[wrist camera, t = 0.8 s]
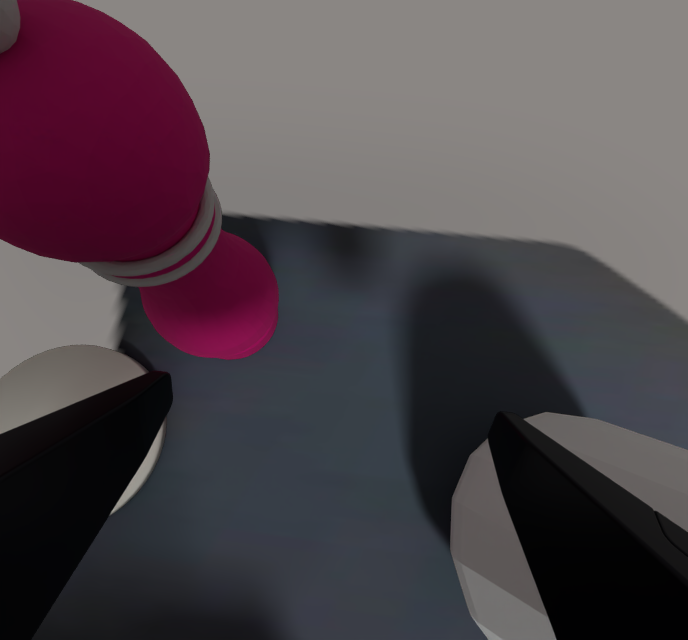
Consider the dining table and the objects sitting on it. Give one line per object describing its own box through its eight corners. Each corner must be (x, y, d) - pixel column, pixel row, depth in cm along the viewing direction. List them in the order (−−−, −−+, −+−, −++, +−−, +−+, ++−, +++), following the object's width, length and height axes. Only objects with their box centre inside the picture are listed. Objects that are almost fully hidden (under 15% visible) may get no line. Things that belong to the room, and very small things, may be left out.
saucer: (151, 531, 20) (142, 537, 19) (-48, 534, 19) (-67, 540, 18) (178, 349, 23) (172, 346, 22) (7, 345, 22) (-7, 342, 21)
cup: (402, 601, 20) (574, 992, 6) (453, 385, 24) (629, 350, 10) (617, 679, 20) (1258, 1250, 6) (634, 448, 23) (1060, 497, 10)
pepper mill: (200, 260, 25) (-218, -277, 5) (295, 281, 25) (217, -173, 6) (166, 354, 23) (-680, 36, 3) (270, 377, 23) (12, 188, 4)
